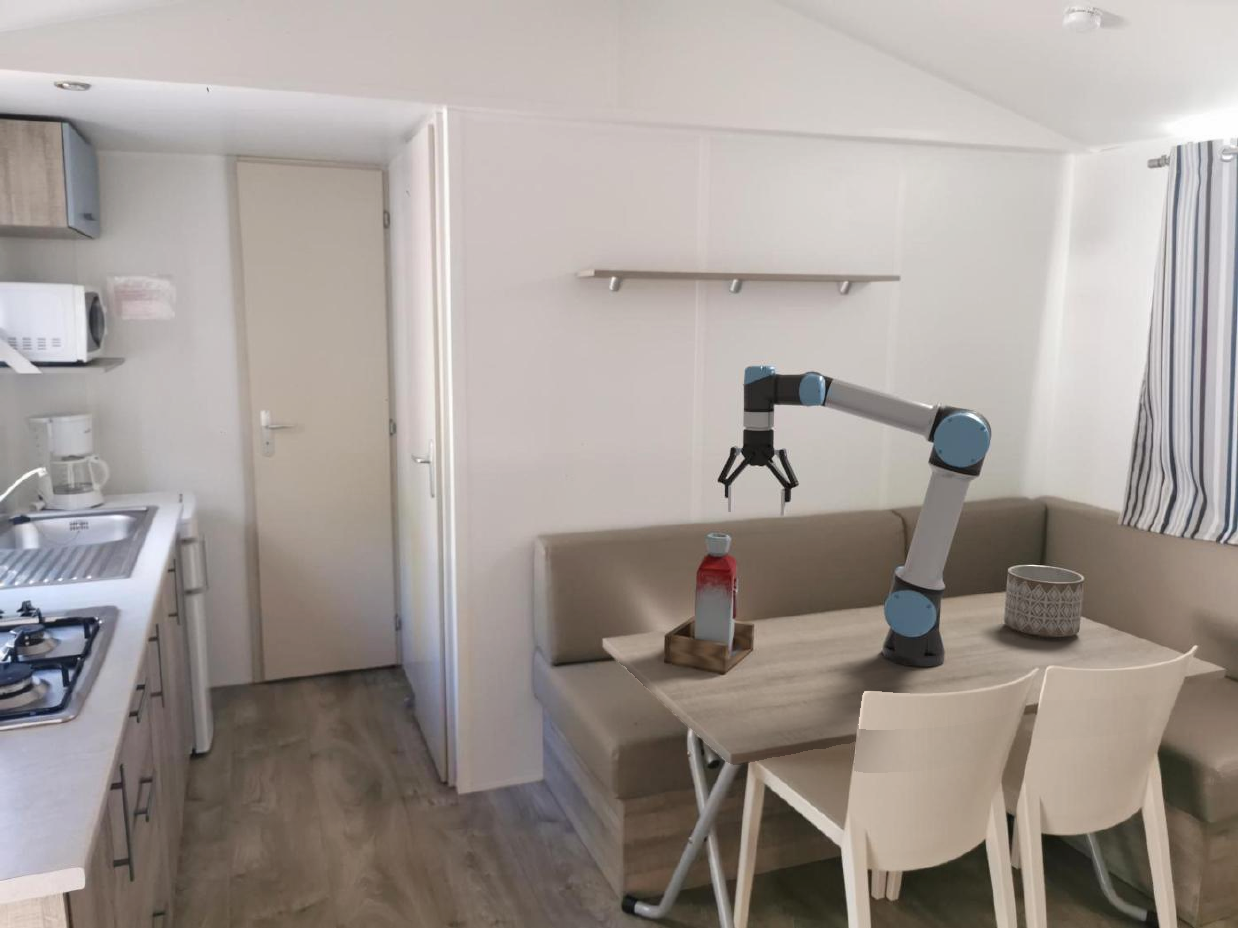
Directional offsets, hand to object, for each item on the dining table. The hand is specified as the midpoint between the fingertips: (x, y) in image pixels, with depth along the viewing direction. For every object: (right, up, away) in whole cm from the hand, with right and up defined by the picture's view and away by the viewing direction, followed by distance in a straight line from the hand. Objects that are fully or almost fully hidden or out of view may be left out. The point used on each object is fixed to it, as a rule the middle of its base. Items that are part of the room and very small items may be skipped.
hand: (757, 513), depth 248 cm
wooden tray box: (-12, -36, 0) cm, 38 cm away
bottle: (-11, -35, 0) cm, 37 cm away
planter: (+82, -34, +27) cm, 93 cm away
